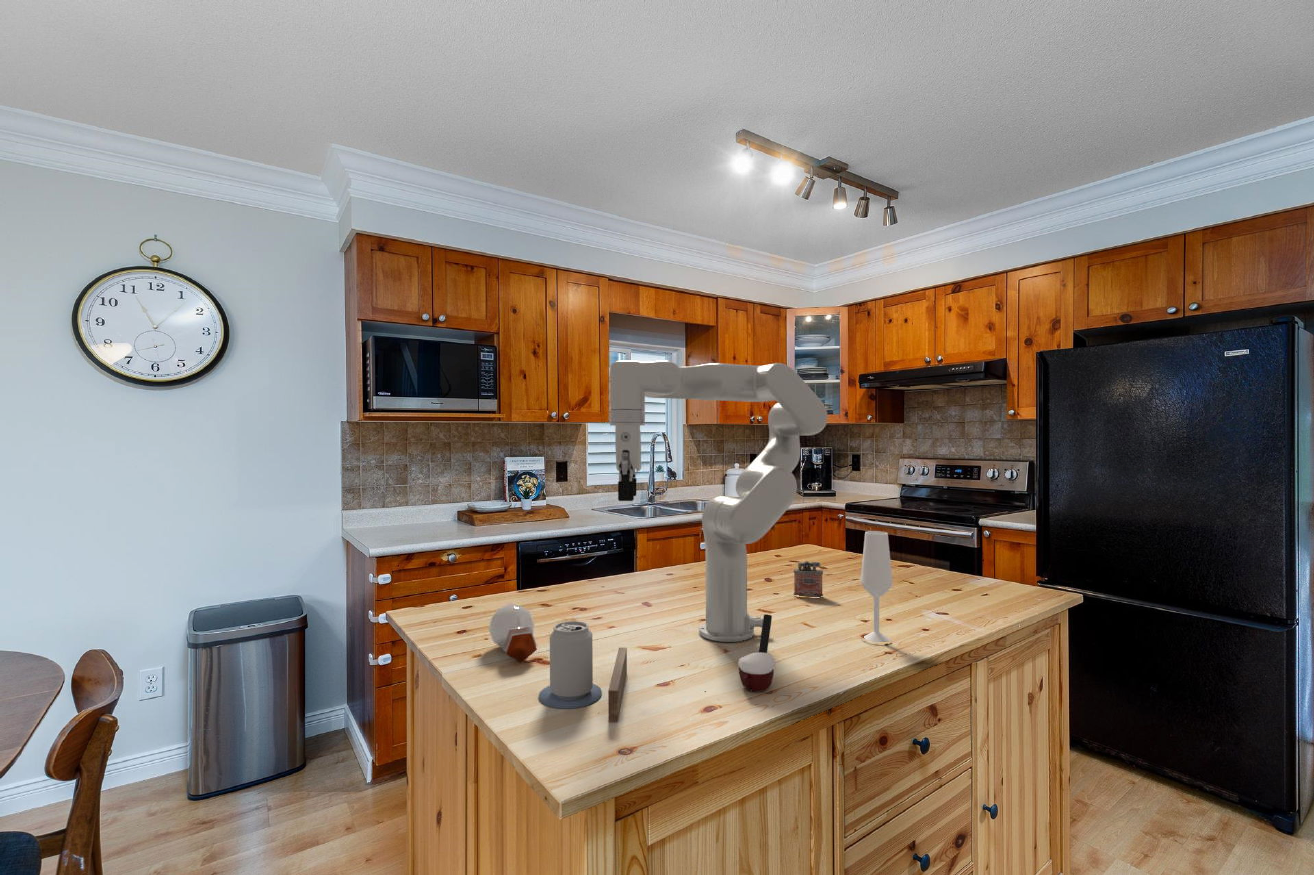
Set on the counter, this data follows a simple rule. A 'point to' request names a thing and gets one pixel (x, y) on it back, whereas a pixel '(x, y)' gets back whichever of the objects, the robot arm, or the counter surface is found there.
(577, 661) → the can
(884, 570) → the champagne flute
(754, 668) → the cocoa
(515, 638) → the potion bottle
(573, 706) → the mat
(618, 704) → the low wall
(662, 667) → the counter surface
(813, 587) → the lighter
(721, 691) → the counter surface
